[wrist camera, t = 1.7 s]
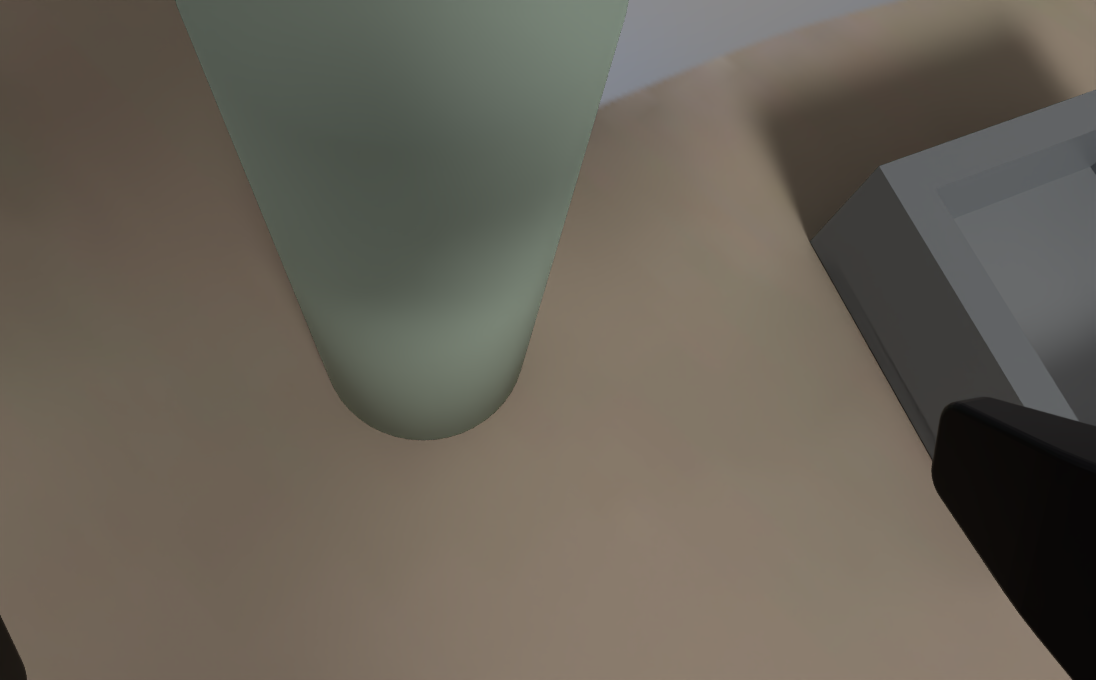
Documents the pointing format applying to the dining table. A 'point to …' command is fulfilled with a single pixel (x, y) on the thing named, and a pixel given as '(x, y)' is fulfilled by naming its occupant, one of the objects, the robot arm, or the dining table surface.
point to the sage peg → (412, 178)
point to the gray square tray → (979, 267)
